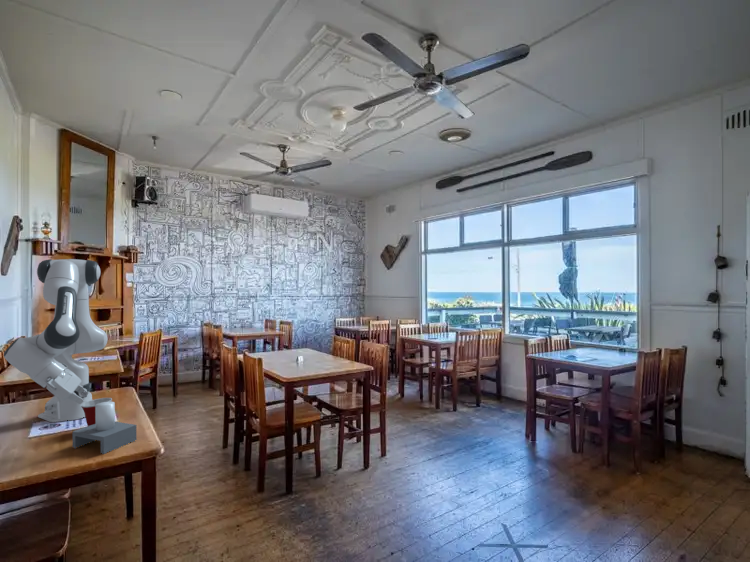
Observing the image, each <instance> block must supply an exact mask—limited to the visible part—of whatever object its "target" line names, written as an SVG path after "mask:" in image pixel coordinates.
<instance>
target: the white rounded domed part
mask: <svg viewBox="0 0 750 562" xmlns="http://www.w3.org/2000/svg"><path fill="white" fill-rule="evenodd" d="M115 404H116V403H115V401H111V402H102V403H98V404H96V405H95V413H96V431H105V430H109V429H112V428H114V427H115V422H116V414H115V412H116V411H115V410H116V409H115V408H116V405H115Z"/></svg>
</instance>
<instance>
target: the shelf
mask: <svg viewBox="0 0 750 562" xmlns="http://www.w3.org/2000/svg"><path fill="white" fill-rule="evenodd" d="M95 440H97V441H100V454H101V453H102V454H101V455H106V454H108V453H110V452H113V451H114V449H115V450H116V449H117V450H118V449H120V448H122V447H124V446H123V445H125V446H127V445H129V444H128V443H130V442H132V443H134V442H136V441H135V440H137V424H132V423H128V422H127V423H125V422H120V421H115V427H114V428H112V429H109V430H105V431H96V424H93V425H90V426H88V425H87V426H85V427H82V428H78V429H75V430H73V431H72V448H73V447H74V448H73V449H77V448H76V447H78V448H80V447H79V446H81V445H83V446H85V445H84V444H86V445H88V444H87V443H89V442H91V443H93V442H92V441H94V442H96V441H95ZM133 441H134V442H133ZM89 444H90V443H89ZM126 444H127V445H126ZM130 444H131V443H130ZM121 446H122V447H121ZM81 447H82V446H81ZM119 447H120V448H119ZM112 450H113V451H112ZM109 451H110V452H109ZM107 452H108V453H107Z"/></svg>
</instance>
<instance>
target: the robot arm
mask: <svg viewBox="0 0 750 562" xmlns="http://www.w3.org/2000/svg"><path fill="white" fill-rule="evenodd" d="M101 274H102V273H101V268H100V266H99V263H98V262H97V261H95V260H91V259H87V260H85V259H78V258H77V259H76V258H68V259H65V258H64V259H52V258H51V259H45V260H42V261H41V262H39V263H38V265H37V267H36V275H37V278H38V281H39V282H41V283H43V287H42V295H43V296H42V297H43V299H44V300H45V301H46V302H47V303H49V304H51V305H53V306H54V307H55V308H54V316H53V320H52V321H51V322H50V323H49V324H48V325H47V326H46V328H45V329H44V330H43V331H42V332H41V333H38V334H35V335H33V336H28V337H17V338H15V340H14V341H13V342H12V343H11V344H10V345H9V346H8V347H7V348H6V349H5V351H4V352H3V358H5V360H6V361H7V362H8V364H10V365H11V366H13V368H15V369H16V370H18V371H19V372H21V373H22V374H26V375H27V376H28V377H29V378H30V379H31V380H32V381H33V382H35V383H36V384H38V385H39V386H41V387H42V388H44V389H45V388H46V389H47V390H48V391H49V392H50V393H51V394H52V395H53V396H52V397H51V398H50V399H48V401H47V402H45V406H44V412H42V413H39V414H38V415H37V417H38V418H39V419H42V420H45V421H46V422H49V423H58V422H66V421H67V420H68V421H75V420H78V419H80V420H81V419H84V418H85V413H84V410H83V408H82V407H81V404H83V403H85V402H87V401H91V400H93V395H92V393H91V392H90V391H91V383H90V381H89V380H90V376H89V374H90V369H89V366H88V365H87V364H86V363H85V362H83V361H80V360H76V359H74V358H73V357H72V356H73V355H75V354H84V353H85V354H86V353H93V352H96V351H101V350H103V349H104V348H106V346H107V344H108V341H109V340H108V339H109V338H108V334H107V332H106V331H105V330H103V329H102V328H100V327H98V326H97V325H96V324H95V322H94V321H93V320H92V318H91V314H90V301H89V300H90V294H89V287H91V286H92V285H94V284H96V283H97V282H98V281H99V279H100V277H101ZM83 417H84V418H83ZM68 421H67V422H68Z"/></svg>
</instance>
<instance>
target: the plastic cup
mask: <svg viewBox="0 0 750 562" xmlns="http://www.w3.org/2000/svg"><path fill="white" fill-rule="evenodd" d="M102 402H113V398H112V397H101V398H95V399H92V400H91V401H87V402H85V403H83V404H81V407H82V408H83V410H84V413H85V417H84V418H85V422H86V424H87V426H90V425H93V424H96V413H95V405H96V404H98V403H102Z"/></svg>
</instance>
